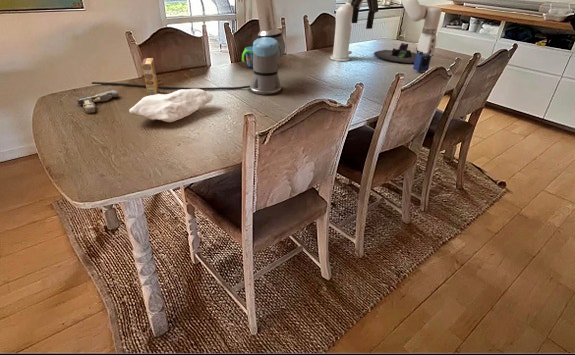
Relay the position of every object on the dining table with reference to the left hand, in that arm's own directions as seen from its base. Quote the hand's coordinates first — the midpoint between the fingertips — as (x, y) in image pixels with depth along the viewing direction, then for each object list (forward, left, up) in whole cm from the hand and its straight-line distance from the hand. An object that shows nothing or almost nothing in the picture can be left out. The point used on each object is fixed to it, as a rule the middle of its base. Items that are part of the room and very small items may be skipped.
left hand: (361, 25), depth 167 cm
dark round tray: (+53, +61, -30) cm, 86 cm away
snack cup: (-46, +42, -30) cm, 69 cm away
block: (+50, +27, -29) cm, 64 cm away
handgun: (-116, -12, -30) cm, 121 cm away
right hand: (+50, +27, -26) cm, 62 cm away
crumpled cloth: (-86, -25, -30) cm, 94 cm away
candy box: (-96, -2, -30) cm, 101 cm away
